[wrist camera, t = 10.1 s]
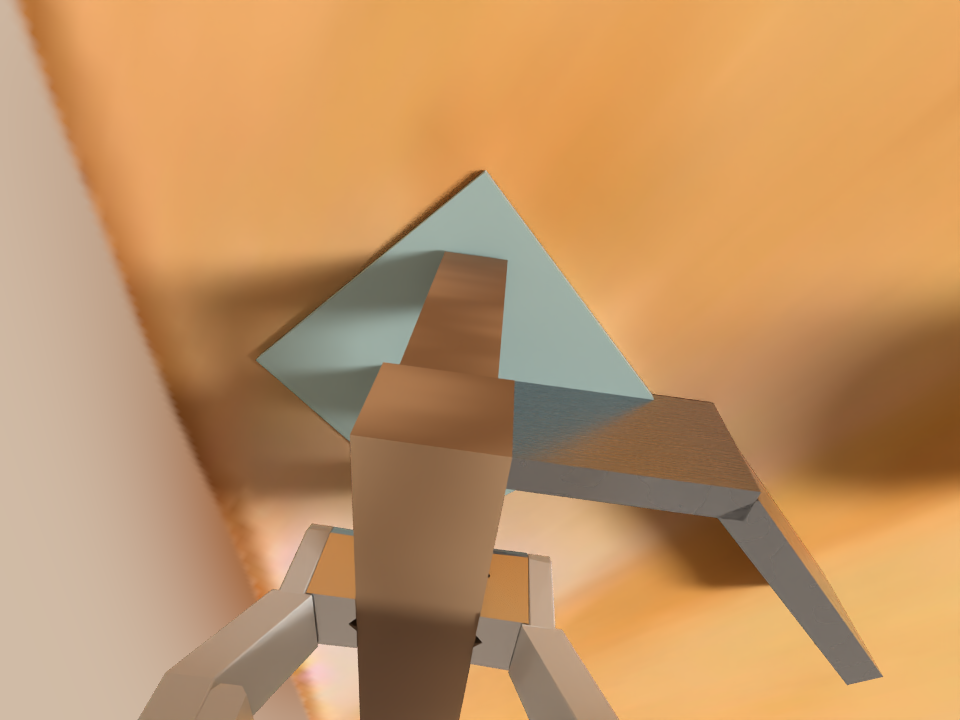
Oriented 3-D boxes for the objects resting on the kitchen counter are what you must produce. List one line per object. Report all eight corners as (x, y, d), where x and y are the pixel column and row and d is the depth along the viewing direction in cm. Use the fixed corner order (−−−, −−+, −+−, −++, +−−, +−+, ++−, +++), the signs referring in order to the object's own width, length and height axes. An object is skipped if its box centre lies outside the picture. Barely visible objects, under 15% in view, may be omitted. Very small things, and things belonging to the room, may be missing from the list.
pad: (664, 410, 17) (666, 416, 17) (446, 518, 21) (445, 524, 21) (485, 169, 13) (484, 172, 13) (259, 355, 17) (255, 360, 17)
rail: (829, 574, 21) (888, 675, 17) (644, 632, 24) (664, 727, 21) (589, 220, 14) (610, 275, 10) (374, 371, 17) (337, 449, 14)
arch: (518, 261, 14) (512, 457, 7) (479, 498, 19) (454, 741, 12) (434, 249, 14) (350, 435, 7) (418, 490, 19) (360, 728, 12)
